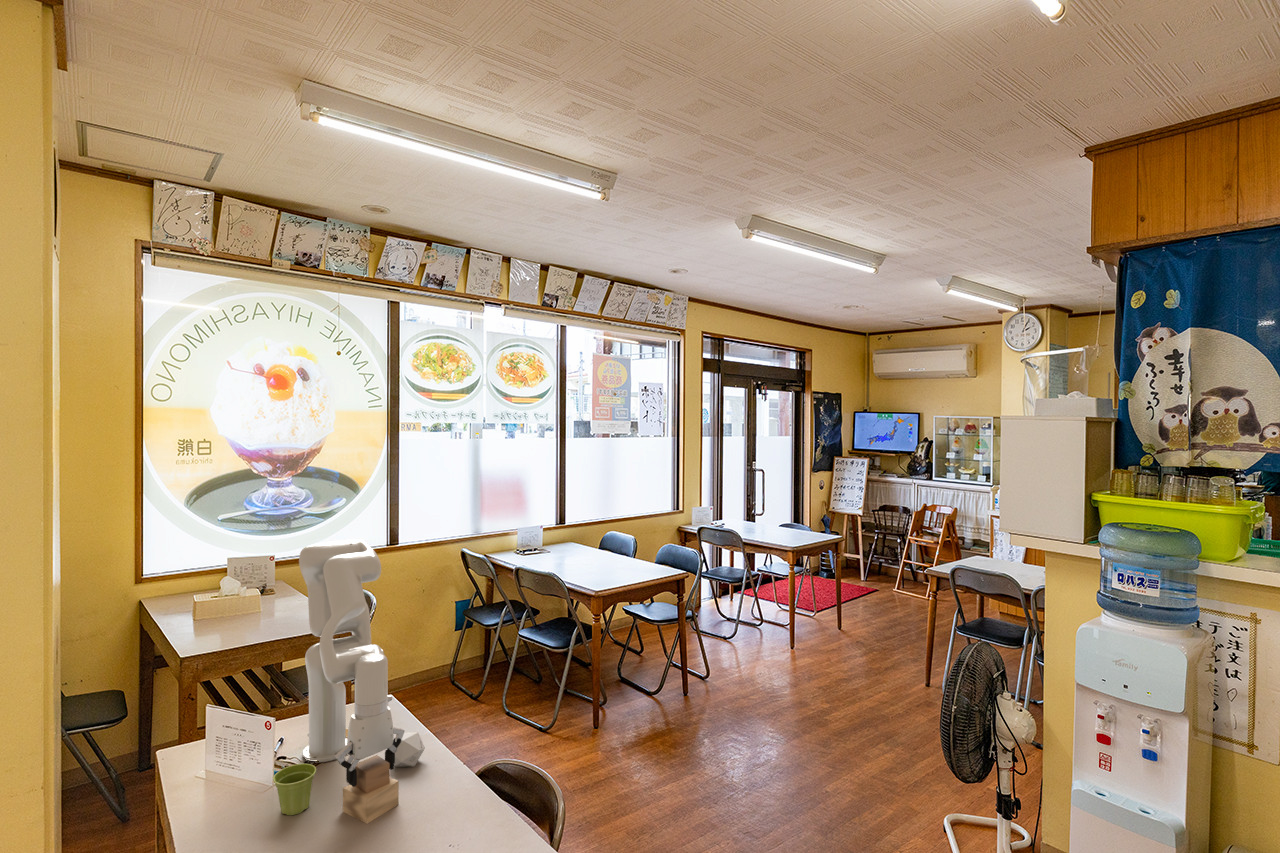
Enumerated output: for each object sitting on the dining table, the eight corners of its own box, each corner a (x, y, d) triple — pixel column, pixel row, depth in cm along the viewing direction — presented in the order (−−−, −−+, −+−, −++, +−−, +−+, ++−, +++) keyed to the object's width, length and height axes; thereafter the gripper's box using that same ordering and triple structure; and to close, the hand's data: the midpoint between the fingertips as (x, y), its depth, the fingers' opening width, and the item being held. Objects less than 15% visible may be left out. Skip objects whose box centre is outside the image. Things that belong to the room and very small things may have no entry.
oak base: (342, 812, 160) (342, 788, 160) (374, 794, 168) (374, 771, 168) (367, 824, 156) (367, 799, 156) (398, 805, 163) (398, 781, 163)
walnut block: (353, 784, 161) (353, 764, 161) (376, 774, 166) (376, 755, 166) (366, 793, 158) (366, 773, 158) (389, 783, 162) (389, 763, 162)
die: (403, 778, 176) (426, 743, 179) (376, 758, 178) (400, 724, 181) (412, 773, 184) (435, 740, 187) (387, 754, 186) (410, 721, 189)
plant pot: (272, 824, 155) (272, 787, 155) (273, 803, 163) (273, 768, 163) (316, 813, 159) (316, 778, 159) (315, 793, 168) (315, 759, 168)
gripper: (395, 691, 171) (395, 756, 171) (328, 714, 157) (328, 785, 157) (411, 699, 166) (411, 766, 166) (344, 723, 152) (344, 797, 153)
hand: (371, 775), depth 162 cm, fingers open, 9 cm apart
